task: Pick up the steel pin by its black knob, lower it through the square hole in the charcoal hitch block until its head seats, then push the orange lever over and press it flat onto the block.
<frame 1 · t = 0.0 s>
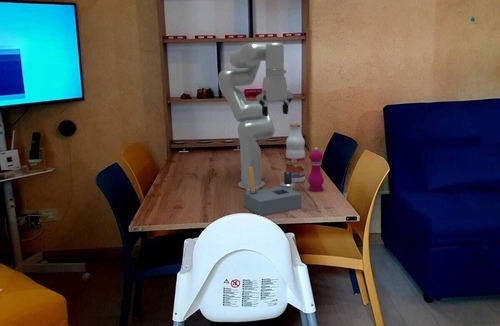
hand: (275, 114, 203), 37 cm above the table, tool pointing down, fingers open, 9 cm apart
lever: (251, 180, 198), point 12 cm above the table, hinge at 100.0°
fruit juice: (295, 180, 240), on the table
pepper mill: (315, 190, 223), on the table
pin: (288, 198, 211), on the table, touching hitch block
hitch block: (272, 207, 200), on the table
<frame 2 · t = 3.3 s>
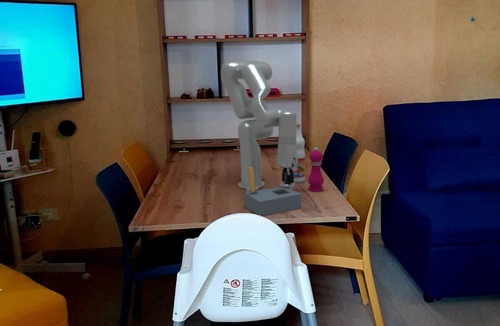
hand: (287, 181, 209), 8 cm above the table, tool pointing down, fingers closed on pin, 3 cm apart
pin: (288, 198, 211), on the table, touching gripper, hitch block
everything else where it was.
when the fingers open (8 cm above the table, at t = 9.1 s): pin stays where it is, resting on hitch block.
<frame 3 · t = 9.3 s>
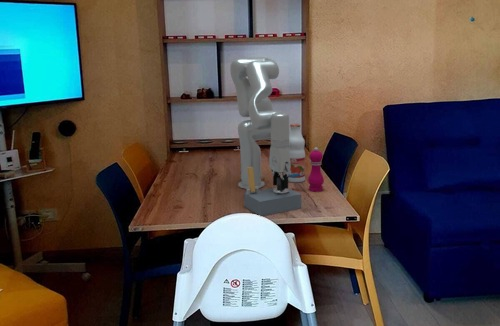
hand: (280, 186, 200), 8 cm above the table, tool pointing down, fingers open, 5 cm apart
pin: (281, 205, 202), resting on hitch block
everything else where it was.
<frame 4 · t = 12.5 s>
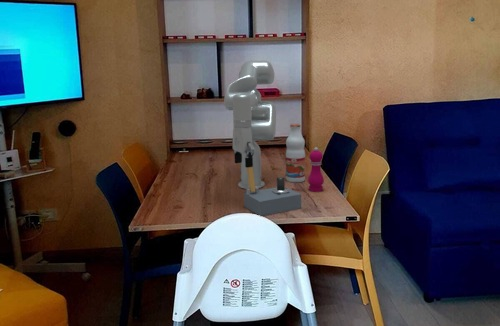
hand: (243, 164, 203), 17 cm above the table, tool pointing down, fingers open, 9 cm apart
lever: (251, 180, 198), point 12 cm above the table, hinge at 101.3°, touching gripper
everything else where it was.
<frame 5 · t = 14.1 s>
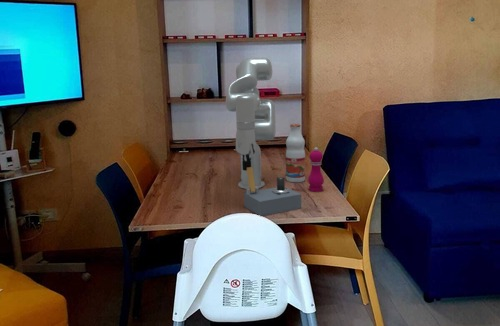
hand: (246, 169, 200), 15 cm above the table, tool pointing down, fingers closed
lever: (251, 180, 199), point 12 cm above the table, hinge at 102.7°, touching gripper
everything else where it was.
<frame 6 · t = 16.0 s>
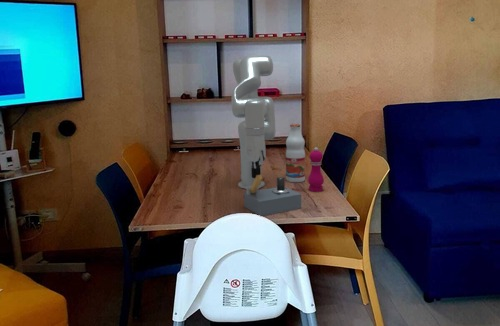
hand: (256, 177, 193), 14 cm above the table, tool pointing down, fingers closed
lever: (255, 184, 195), point 11 cm above the table, hinge at 50.6°, touching gripper
everything else where it was.
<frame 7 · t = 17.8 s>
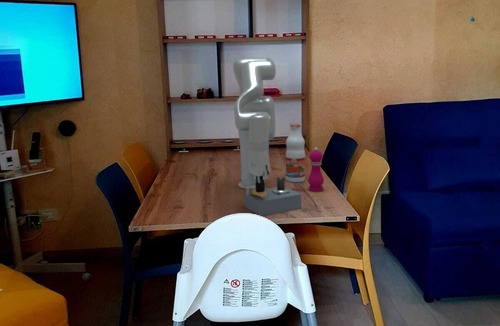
hand: (260, 191, 192), 9 cm above the table, tool pointing down, fingers closed
lever: (257, 192, 195), point 8 cm above the table, hinge at 7.4°, touching gripper
everything else where it was.
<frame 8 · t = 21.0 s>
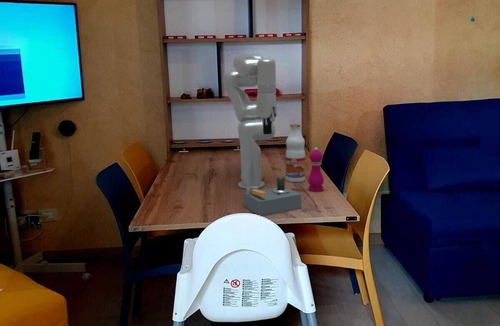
hand: (267, 133, 203), 29 cm above the table, tool pointing down, fingers closed
lever: (257, 192, 195), point 8 cm above the table, hinge at 7.2°
everything else where it was.
at the end: pin 0.1 cm from the target spot on the hitch block, point 0.0 cm above the hitch block's base; pin tilted 0°; lever at +7° (first picture: +100°) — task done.
